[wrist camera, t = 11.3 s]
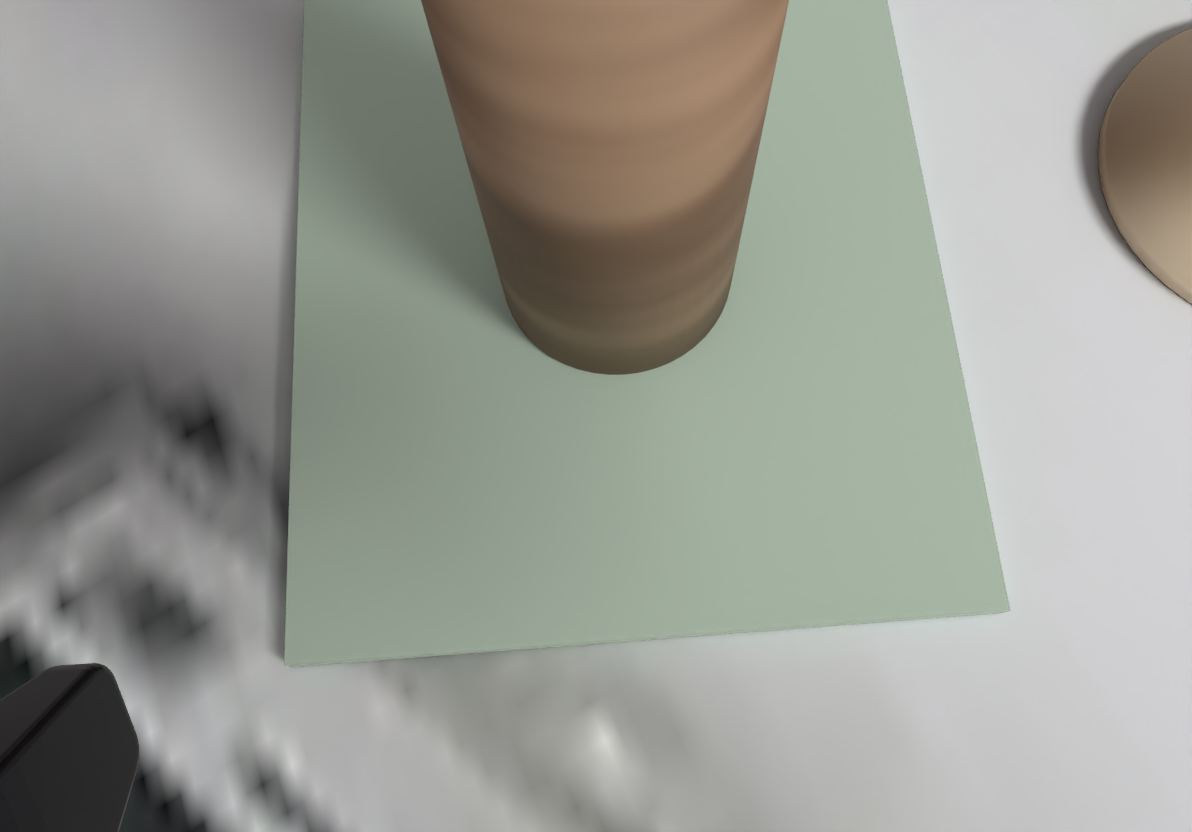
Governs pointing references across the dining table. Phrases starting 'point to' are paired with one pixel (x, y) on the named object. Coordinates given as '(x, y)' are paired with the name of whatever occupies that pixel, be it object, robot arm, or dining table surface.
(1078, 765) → the dining table surface
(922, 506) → the mat
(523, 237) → the canister
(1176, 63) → the coaster
